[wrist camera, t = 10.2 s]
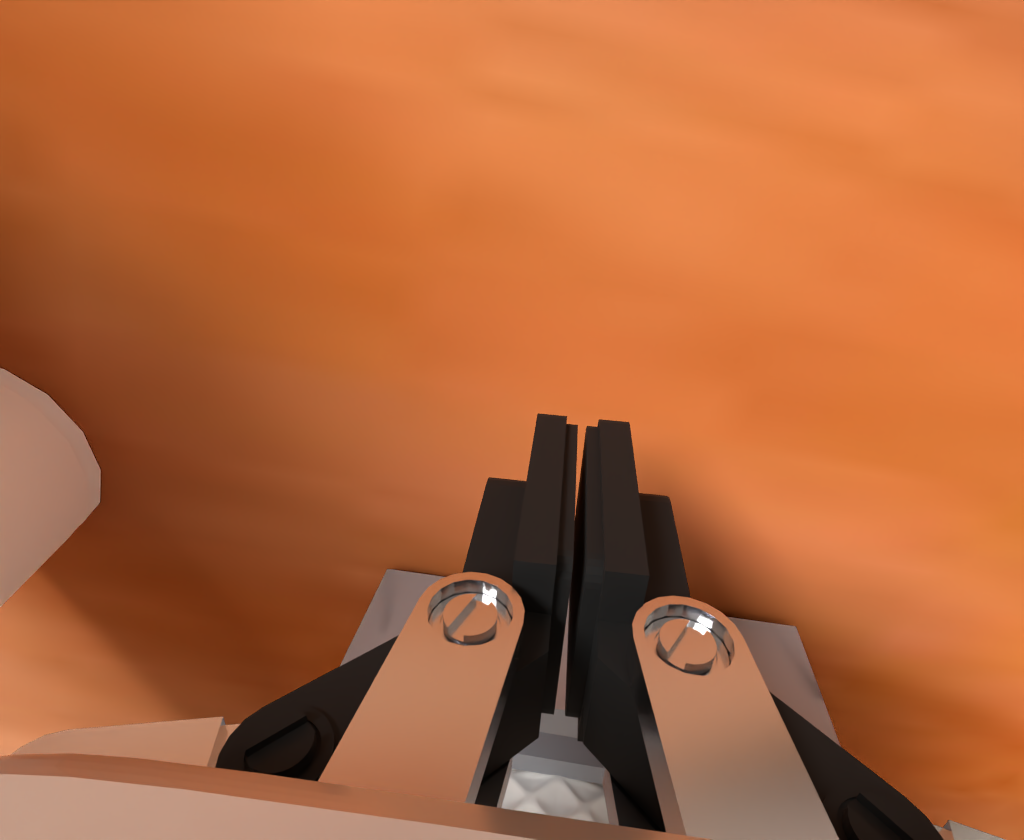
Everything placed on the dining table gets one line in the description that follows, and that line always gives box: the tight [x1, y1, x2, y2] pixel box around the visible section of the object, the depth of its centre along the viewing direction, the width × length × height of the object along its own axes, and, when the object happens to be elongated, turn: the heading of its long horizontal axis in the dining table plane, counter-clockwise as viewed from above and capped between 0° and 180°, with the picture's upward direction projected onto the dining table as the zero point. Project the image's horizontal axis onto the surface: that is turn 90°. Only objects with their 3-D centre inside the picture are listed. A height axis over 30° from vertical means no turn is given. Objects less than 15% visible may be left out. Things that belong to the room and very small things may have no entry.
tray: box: [340, 569, 841, 784], centre depth 20 cm, size 16×13×4 cm
